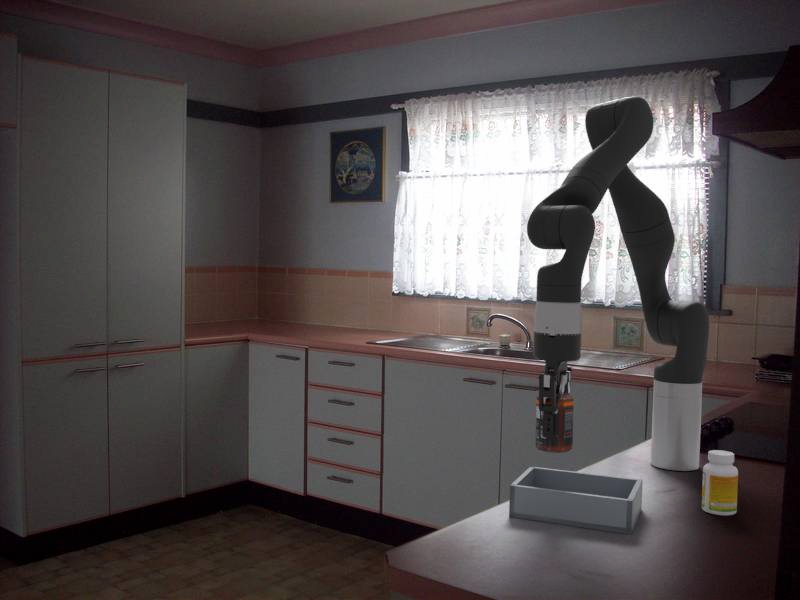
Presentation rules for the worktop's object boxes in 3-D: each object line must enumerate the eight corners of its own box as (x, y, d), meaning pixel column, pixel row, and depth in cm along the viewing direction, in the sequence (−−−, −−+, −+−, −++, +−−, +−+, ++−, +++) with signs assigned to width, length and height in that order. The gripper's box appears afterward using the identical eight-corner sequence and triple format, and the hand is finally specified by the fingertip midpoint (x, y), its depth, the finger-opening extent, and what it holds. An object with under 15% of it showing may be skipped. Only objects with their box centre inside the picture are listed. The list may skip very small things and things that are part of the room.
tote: (529, 495, 141) (530, 466, 141) (641, 509, 134) (642, 479, 134) (509, 516, 129) (510, 485, 128) (631, 534, 122) (632, 501, 121)
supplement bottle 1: (573, 447, 135) (576, 378, 134) (571, 455, 129) (573, 383, 128) (536, 444, 136) (539, 376, 136) (532, 451, 131) (535, 381, 130)
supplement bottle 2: (744, 514, 133) (746, 455, 133) (718, 517, 131) (720, 457, 131) (719, 505, 138) (722, 447, 138) (694, 508, 136) (696, 449, 136)
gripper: (544, 326, 140) (541, 423, 141) (523, 331, 127) (520, 439, 127) (588, 328, 137) (585, 428, 138) (572, 334, 124) (568, 444, 124)
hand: (554, 433), depth 133 cm, fingers closed on supplement bottle 1, 6 cm apart
